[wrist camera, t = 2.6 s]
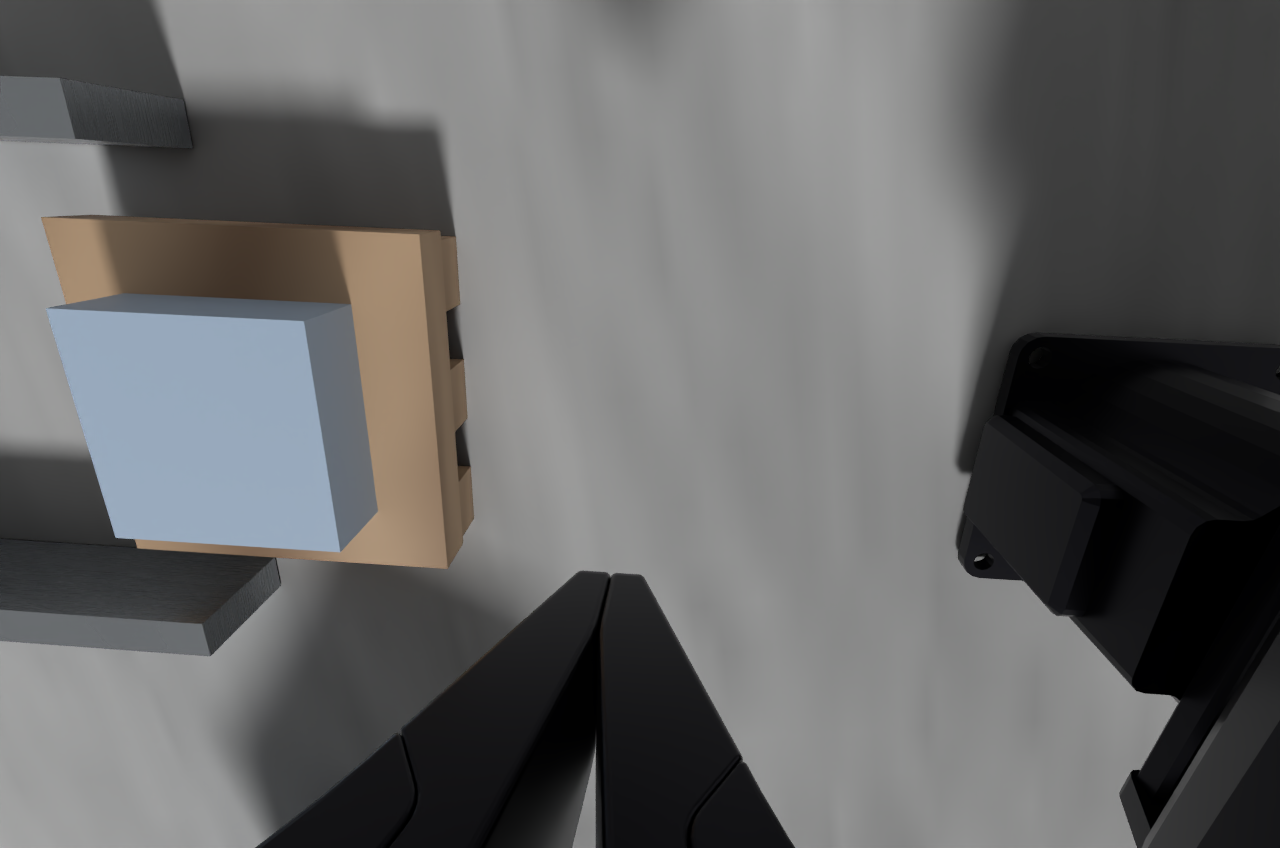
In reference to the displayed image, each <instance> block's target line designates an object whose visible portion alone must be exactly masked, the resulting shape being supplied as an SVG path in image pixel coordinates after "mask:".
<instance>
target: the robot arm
mask: <svg viewBox="0 0 1280 848" xmlns="http://www.w3.org/2000/svg"><path fill="white" fill-rule="evenodd" d="M1040 347H1042V356H1041V358H1040V359H1039V360H1038V361H1037V362H1035V363H1032V364H1029V356H1030V354H1031V353H1032V351H1034V350H1035V349H1037V348H1040ZM1279 366H1280V345H1274V344H1253V343H1233V342H1213V341H1193V340H1173V339H1153V338H1132V337H1112V336H1092V335H1072V334H1052V333H1031V334H1027V335H1025V336H1023V337H1021V338H1019V339H1018V340H1017V341H1016V342H1015V343H1014V344H1013V346H1012V348H1011V351H1010V353H1009V357H1008V361H1007V365H1006V368H1005V372H1004V376H1003V380H1002V384H1001V388H1000V392H999V395H998V399H997V403H996V407H995V411H994V415H993V417H991V418H990V419H989V420H988V421H987V422H986V423H985V425H984V429H983V433H982V437H981V441H980V445H979V449H978V453H977V457H976V460H975V464H974V468H973V472H972V476H971V480H970V484H969V488H968V492H967V496H966V500H965V504H964V508H963V510H964V513H965V514H966V515H967V519H966V523H965V527H964V531H963V535H962V539H961V543H960V547H959V550H958V559H959V561H960V563H961V565H962V566H963V567H964V569H965V570H966V571H967V572H968V573H969V574H970V575H972V576H974V577H978V578H991V579H1007V580H1022V581H1024V582H1025V583H1026V584H1027V585H1028V586H1029V587H1030V588H1031V590H1032V591H1033V592H1034V593H1035V594H1036V595H1037V596H1038V597H1039V599H1040V600H1041V601H1042V602H1043V603H1044V604H1045V605H1046V607H1047V608H1048V609H1049V610H1050V611H1051V612H1052V613H1053V614H1055V615H1056V616H1069V617H1070V619H1071V620H1072V621H1073V622H1074V623H1075V624H1076V625H1077V626H1078V627H1079V628H1080V630H1081V631H1082V632H1083V633H1084V634H1085V635H1086V636H1087V637H1088V638H1089V639H1090V641H1091V642H1092V643H1093V644H1094V645H1095V646H1096V647H1097V648H1098V649H1099V650H1100V652H1101V653H1102V654H1103V655H1104V656H1105V657H1106V658H1107V659H1108V660H1109V661H1110V663H1111V664H1112V665H1113V666H1114V667H1115V668H1116V669H1117V670H1118V671H1119V672H1120V674H1121V675H1122V676H1123V677H1124V678H1125V679H1126V680H1127V681H1128V682H1129V683H1130V685H1131V686H1132V687H1133V688H1134V689H1135V690H1136V691H1139V692H1142V693H1148V694H1162V695H1170V696H1172V697H1173V698H1174V699H1175V700H1176V701H1177V702H1178V705H1177V707H1176V708H1175V710H1174V712H1173V714H1172V715H1171V717H1170V719H1169V721H1168V722H1167V724H1166V726H1165V728H1164V729H1163V731H1162V733H1161V735H1160V736H1159V738H1158V740H1157V742H1156V744H1155V745H1154V747H1153V749H1152V751H1151V752H1150V754H1149V756H1148V758H1147V759H1146V761H1145V763H1144V765H1143V766H1142V768H1141V770H1133V771H1132V772H1131V773H1130V775H1129V776H1128V778H1127V780H1126V782H1125V784H1124V785H1123V787H1122V789H1121V791H1120V799H1121V802H1122V805H1123V808H1124V810H1125V813H1126V816H1127V819H1128V822H1129V825H1130V828H1131V831H1132V834H1133V837H1134V840H1135V843H1136V846H1137V848H1280V372H1279V373H1277V374H1276V370H1277V368H1278V367H1279ZM984 553H987V555H986V556H985V558H984V559H982V560H980V561H974V560H975V558H976V557H977V556H978V555H980V554H984ZM400 734H401V735H400ZM400 734H399V733H396V734H394V735H393V736H392V737H391V738H389V739H388V740H387V741H386V742H385V743H384V744H383V745H381V746H380V747H379V748H378V749H377V750H376V751H375V752H374V753H372V754H371V755H370V756H369V757H368V758H367V759H366V760H364V761H363V762H362V763H361V764H360V765H358V766H357V767H356V768H355V769H354V770H353V771H351V772H350V773H349V774H348V775H347V776H345V777H344V778H343V779H342V780H341V781H339V782H338V783H337V784H336V785H335V786H334V787H332V788H331V789H330V790H329V791H328V792H326V793H325V794H324V795H323V796H322V797H320V798H319V799H318V800H316V801H315V802H314V803H313V804H311V805H310V806H309V807H307V808H306V809H305V810H304V811H302V812H301V813H300V814H298V815H297V816H296V817H294V818H293V819H292V820H291V821H289V822H288V823H287V824H285V825H284V826H283V827H282V828H280V829H279V830H278V831H276V832H275V833H274V834H272V835H271V836H270V837H269V838H267V839H266V840H265V841H263V842H262V843H261V844H259V845H258V846H257V847H255V848H572V846H573V842H574V837H575V833H576V829H577V825H578V821H579V817H580V813H581V809H582V805H583V801H584V797H585V793H586V788H587V784H588V780H589V776H590V772H591V767H592V763H593V758H594V754H595V747H596V848H795V847H794V845H793V844H792V842H791V841H790V839H789V837H788V836H787V834H786V832H785V831H784V829H783V827H782V826H781V824H780V822H779V820H778V819H777V817H776V815H775V814H774V812H773V810H772V809H771V807H770V805H769V804H768V802H767V800H766V798H765V797H764V795H763V793H762V792H761V790H760V788H759V786H758V784H757V782H756V781H755V779H754V777H753V775H752V773H751V771H750V770H749V768H748V766H747V764H746V763H744V762H743V758H742V756H741V754H740V752H739V750H738V748H737V746H736V745H735V743H734V741H733V739H732V737H731V736H730V734H729V732H728V730H727V728H726V726H725V725H724V723H723V721H722V719H721V717H720V715H719V714H718V712H717V710H716V708H715V706H714V704H713V703H712V701H711V699H710V697H709V695H708V693H707V692H706V690H705V688H704V686H703V684H702V682H701V681H700V679H699V677H698V675H697V673H696V671H695V670H694V668H693V666H692V664H691V662H690V661H689V659H688V657H687V655H686V653H685V651H684V650H683V648H682V646H681V644H680V642H679V640H678V639H677V637H676V635H675V633H674V631H673V629H672V628H671V626H670V624H669V622H668V620H667V618H666V617H665V615H664V613H663V611H662V609H661V607H660V606H659V604H658V602H657V600H656V598H655V596H654V595H653V593H652V591H651V589H650V587H649V586H648V584H647V582H646V580H645V578H644V577H643V576H642V575H639V574H623V573H615V574H613V575H612V576H611V577H610V575H609V574H608V573H606V572H594V571H579V572H578V573H576V574H575V575H574V576H573V577H572V578H571V579H569V580H568V581H567V582H566V583H565V584H564V585H563V586H562V587H560V588H559V589H558V590H557V591H556V592H555V593H554V594H552V595H551V596H550V597H549V598H548V599H547V600H546V601H545V602H543V603H542V604H541V605H540V606H539V607H538V608H537V609H536V610H534V611H533V612H532V613H531V614H530V615H529V616H528V617H526V618H525V619H524V620H523V621H522V622H521V623H520V624H519V625H517V626H516V627H515V628H514V629H513V630H512V631H511V632H510V633H508V634H507V635H506V636H505V637H504V638H503V639H502V640H501V641H499V642H498V643H497V644H496V645H495V646H494V647H493V648H491V649H490V650H489V651H488V652H487V653H486V654H485V655H484V656H482V657H481V658H480V659H479V660H478V661H477V662H476V663H475V664H473V665H472V666H471V667H470V668H469V669H468V670H467V671H466V672H464V673H463V674H462V675H461V676H460V677H459V678H458V679H456V680H455V681H454V682H453V683H452V684H451V685H450V686H449V687H447V688H446V689H445V690H444V691H443V692H442V693H441V694H440V695H438V696H437V697H436V698H435V699H434V700H433V701H432V702H430V703H429V704H428V705H427V706H426V707H425V708H424V709H423V710H421V711H420V712H419V713H418V714H417V715H416V716H415V717H414V718H412V719H411V720H410V721H409V722H408V723H407V724H406V725H405V726H403V727H402V728H401V731H400Z"/></svg>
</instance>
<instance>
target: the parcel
mask: <svg viewBox="0 0 1280 848" xmlns="http://www.w3.org/2000/svg"><path fill="white" fill-rule="evenodd" d="M46 311H47V314H48V318H49V321H50V324H51V328H52V331H53V334H54V337H55V341H56V344H57V347H58V351H59V354H60V357H61V360H62V364H63V367H64V370H65V373H66V377H67V380H68V383H69V387H70V390H71V393H72V396H73V400H74V403H75V406H76V410H77V413H78V416H79V419H80V423H81V426H82V429H83V432H84V436H85V439H86V442H87V446H88V449H89V452H90V455H91V459H92V462H93V465H94V468H95V472H96V475H97V478H98V482H99V485H100V488H101V491H102V495H103V498H104V501H105V505H106V508H107V511H108V514H109V518H110V521H111V524H112V527H113V531H114V534H115V537H116V538H126V539H141V540H157V541H172V542H188V543H203V544H219V545H234V546H250V547H265V548H281V549H296V550H312V551H327V552H341V551H342V550H343V549H344V548H345V547H346V546H347V545H348V544H349V542H350V541H351V540H352V539H353V538H354V537H355V536H356V535H357V534H358V533H359V532H360V531H361V529H362V528H363V527H364V526H365V525H366V524H367V523H368V522H369V521H370V520H371V519H372V518H373V516H374V515H375V514H376V513H377V512H378V508H377V500H376V492H375V485H374V477H373V469H372V461H371V454H370V446H369V438H368V430H367V423H366V415H365V407H364V399H363V391H362V384H361V376H360V368H359V360H358V353H357V345H356V337H355V329H354V322H353V314H352V306H351V304H337V303H316V302H296V301H275V300H254V299H234V298H213V297H192V296H171V295H151V294H130V293H123V294H118V295H113V296H107V297H102V298H97V299H92V300H87V301H81V302H76V303H71V304H66V305H61V306H55V307H50V308H46Z"/></svg>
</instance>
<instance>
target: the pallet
mask: <svg viewBox="0 0 1280 848" xmlns="http://www.w3.org/2000/svg"><path fill="white" fill-rule="evenodd" d="M41 218H42V222H43V225H44V229H45V232H46V236H47V239H48V243H49V246H50V249H51V253H52V256H53V260H54V263H55V267H56V270H57V273H58V277H59V280H60V284H61V287H62V291H63V294H64V298H65V301H66V304H71V303H76V302H81V301H87V300H92V299H97V298H102V297H107V296H113V295H118V294H123V293H130V294H151V295H171V296H192V297H213V298H234V299H254V300H275V301H296V302H316V303H337V304H351V306H352V314H353V322H354V329H355V337H356V345H357V353H358V360H359V368H360V376H361V384H362V391H363V399H364V407H365V415H366V423H367V430H368V438H369V446H370V454H371V461H372V469H373V477H374V485H375V492H376V500H377V508H378V512H377V513H376V514H375V515H374V516H373V518H372V519H371V520H370V521H369V522H368V523H367V524H366V525H365V526H364V527H363V528H362V529H361V531H360V532H359V533H358V534H357V535H356V536H355V537H354V538H353V539H352V540H351V541H350V542H349V544H348V545H347V546H346V547H345V548H344V549H343V550H342V551H341V552H327V551H312V550H296V549H281V548H265V547H250V546H234V545H219V544H203V543H188V542H172V541H157V540H141V539H135V542H136V545H137V548H141V549H156V550H171V551H186V552H201V553H216V554H231V555H246V556H261V557H276V558H291V559H306V560H321V561H336V562H351V563H366V564H382V565H397V566H412V567H427V568H442V569H448V567H449V566H450V564H451V562H452V561H453V559H454V557H455V556H456V554H457V552H458V551H459V549H460V547H461V546H462V544H463V535H464V534H465V532H466V530H467V529H468V527H469V525H470V524H471V522H472V521H473V519H474V511H473V496H472V480H471V466H457V453H456V439H455V431H456V430H457V429H458V428H459V427H460V426H461V425H462V424H463V423H464V422H465V420H466V419H467V403H466V388H465V372H464V359H450V357H449V343H448V329H447V316H446V312H447V311H448V310H450V309H452V308H454V307H456V306H458V305H460V295H459V279H458V264H457V248H456V237H453V236H441V234H440V230H418V229H395V228H373V227H351V226H329V225H306V224H284V223H262V222H239V221H217V220H195V219H173V218H150V217H128V216H106V215H78V216H58V217H41Z"/></svg>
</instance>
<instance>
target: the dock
mask: <svg viewBox="0 0 1280 848" xmlns="http://www.w3.org/2000/svg"><path fill="white" fill-rule="evenodd" d="M0 141H24V142H49V143H73V144H98V145H123V146H148V147H173V148H193V145H192V140H191V135H190V130H189V125H188V120H187V115H186V110H185V105H184V100H182V99H176V98H171V97H165V96H159V95H154V94H148V93H142V92H137V91H131V90H125V89H120V88H114V87H108V86H103V85H97V84H91V83H86V82H80V81H74V80H69V79H63V78H49V77H21V76H0ZM280 586H281V585H280V580H279V575H278V570H277V565H276V560H275V557H261V556H246V555H231V554H216V553H201V552H186V551H171V550H156V549H141V548H130V547H115V546H100V545H85V544H70V543H55V542H40V541H25V540H10V539H0V641H9V642H22V643H36V644H50V645H63V646H77V647H91V648H104V649H118V650H132V651H145V652H159V653H172V654H186V655H200V656H211V655H212V654H213V653H214V652H215V651H216V650H217V649H218V648H219V647H220V646H221V645H222V644H223V643H224V642H225V641H226V640H227V639H228V638H229V637H230V636H231V635H232V634H233V633H234V632H235V631H236V630H237V629H238V628H239V627H240V626H241V625H242V624H243V623H244V622H245V621H246V620H247V619H248V618H249V617H250V616H251V615H252V614H253V613H254V612H255V611H256V610H257V609H258V608H259V607H260V606H261V605H262V604H263V603H264V602H265V601H266V600H267V599H268V598H269V597H270V596H271V595H272V594H273V593H274V592H275V591H276V590H277V589H278V588H279V587H280Z"/></svg>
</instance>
